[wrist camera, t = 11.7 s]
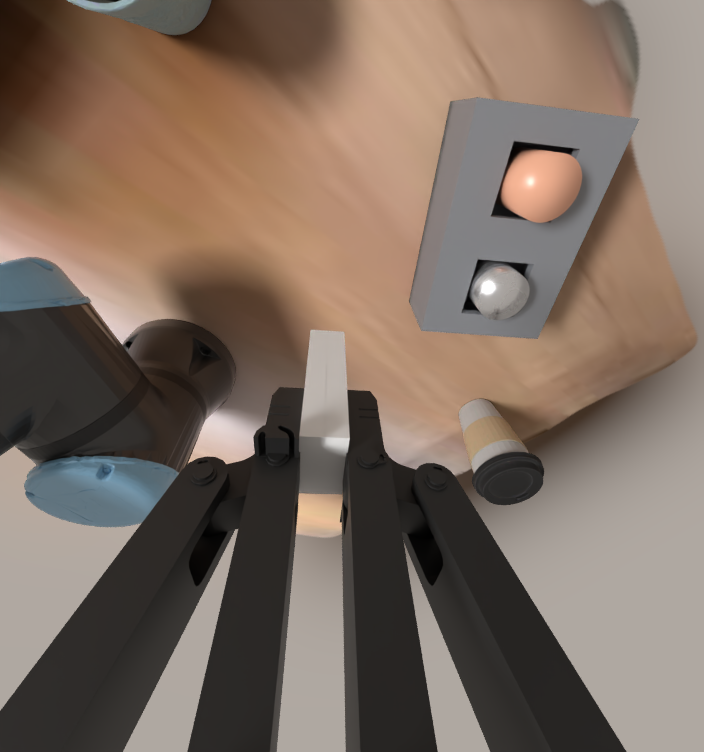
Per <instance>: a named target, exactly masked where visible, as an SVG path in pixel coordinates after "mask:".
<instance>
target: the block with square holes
mask: <svg viewBox="0 0 704 752" xmlns="http://www.w3.org/2000/svg"><path fill="white" fill-rule="evenodd" d="M638 121H639V119H636V118H628V117H621V116H613V115H606V114H598V113H591V112H583V111H576V110H568V109H561V108H553V107H546V106H538V105H531V104H523V103H516V102H508V101H501V100H493V99H486V98H478V97H477V98H470V99H464V100H457V101H451V102H450V106H449V111H448V116H447V121H446V125H445V130H444V135H443V140H442V145H441V150H440V154H439V159H438V164H437V169H436V174H435V179H434V183H433V188H432V193H431V198H430V203H429V208H428V212H427V217H426V222H425V227H424V232H423V237H422V241H421V246H420V251H419V256H418V261H417V266H416V270H415V275H414V280H413V285H412V290H411V295H410V299H409V303H410V305H411V307H412V310H413V312H414V315H415V317H416V319H417V322H418V324H419V327H420V329H421V331H432V332H446V333H461V334H475V335H490V336H504V337H519V338H533V339H538V337H539V335H540V332H541V330H542V328H543V326H544V324H545V322H546V319H547V317H548V315H549V313H550V311H551V309H552V307H553V304H554V302H555V300H556V298H557V296H558V294H559V291H560V289H561V287H562V285H563V283H564V281H565V278H566V276H567V274H568V272H569V270H570V268H571V266H572V263H573V261H574V259H575V257H576V255H577V253H578V250H579V248H580V246H581V244H582V242H583V240H584V238H585V235H586V233H587V231H588V229H589V227H590V225H591V222H592V220H593V218H594V216H595V214H596V212H597V209H598V207H599V205H600V203H601V201H602V199H603V197H604V194H605V192H606V190H607V188H608V186H609V184H610V181H611V179H612V177H613V175H614V173H615V171H616V168H617V166H618V164H619V162H620V160H621V158H622V156H623V153H624V151H625V149H626V147H627V145H628V143H629V140H630V138H631V136H632V134H633V132H634V130H635V127H636V125H637V123H638ZM520 147H525V148H532V149H538V150H545V151H552V152H559V153H565V154H569V155H571V156H572V157H574V158H575V159H576V160H577V161H578V163H579V165H580V167H581V171H582V183H581V187H580V190H579V193H578V195H577V197H576V199H575V200H574V202H573V203H572V205H571V206H570V207H569V208H568V209H567V210H566V211H565V212H564V213H563V214H562V215H560V216H559V217H557V218H555V219H553V220H551V221H548V222H543V223H536V222H532V221H529V220H528V219H526V218H524V217H522V216H520V215H518V214H516V213H514V212H512V211H510V210H508V209H506V208H504V207H502V206H500V205H498V204H497V203H496V202H495V201H496V198H497V194H498V191H499V188H500V185H501V181H502V178H503V175H504V172H505V168H506V165H507V162H508V158H509V155H510V152H511V150H512V149H515V148H520ZM478 259H482V260H493V261H504V262H507V263H508V264H509V265H510V266H511V267H513V268H514V269H515V270H516V271H517V272H519V273H520V274H521V275H522V276H524V277H525V278H526V280H527V281H528V284H529V289H530V291H529V297H528V299H527V302H526V303H525V305H524V306H523V307H522V309H521V310H520V311H519V312H517V313H516V314H515V315H513V316H511V317H509V318H507V319H503V320H491V319H488V318H486V317H485V316H483V315H482V314H481V312H480V311H479V310H478V308H477V307H476V306H475V304H474V303H473V302H472V300H471V299H470V298H469V297H468V295H467V293H468V290H469V286H470V283H471V280H472V276H473V273H474V270H475V267H476V263H477V260H478Z"/></svg>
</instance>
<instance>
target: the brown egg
mask: <svg viewBox="0 0 704 752" xmlns="http://www.w3.org/2000/svg"><path fill="white" fill-rule="evenodd" d="M581 183H582V171H581V167H580V165H579V163H578V161H577V160H576V159H575V158H574V157H572V156H571V155H569V154H565V153H559V152H552V151H545V150H538V149H532V148H525V147H520V148H515V149H512V150H511V152H510V155H509V158H508V162H507V165H506V168H505V172H504V175H503V178H502V181H501V185H500V188H499V191H498V194H497V198H496V201H495V202H496V203H497V204H498V205H500V206H502V207H504V208H506V209H508V210H510V211H512V212H514V213H516V214H518V215H520V216H522V217H524V218H526V219H528V220H529V221H532V222H536V223H543V222H548V221H551V220H553V219H555V218H557V217H559V216H560V215H562V214H563V213H564V212H565V211H566V210H567V209H568V208H569V207H570V206H571V205H572V203H573V202H574V200H575V199H576V197H577V195H578V193H579V190H580V187H581Z"/></svg>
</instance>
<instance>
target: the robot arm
mask: <svg viewBox="0 0 704 752" xmlns="http://www.w3.org/2000/svg"><path fill="white" fill-rule="evenodd" d="M90 302H91V300H90V299H89V298H88V297H85V296H84V295H83V294H82V293H81V292H80V290H79V289H78V288H77V287H76V286H75V285H74V284H73V282H72V281H71V280H70V279H69V278H68V277H67V275H66V274H65V273H64V272H63V271H62V270H61V269H60V268H59V267H58V266H57V265H56V264H54V263H52V262H50V261H48V260H46V259H42V258H38V257H26V258H20V259H16V260H11V261H7V262H3V263H0V456H1V455H2V454H3V453H5V452H6V451H8V450H9V449H11V448H12V447H14V446H15V447H17V448H18V449H19V450H20V451H22V452H23V453H24V454H25V455H26V456H27V457H29V458H30V459H31V460H32V461H33V462H34V463H35V464H36V467H34V468H33V469H32V470H31V471H30V472H29V473H28V475H27V480H26V482H25V484H24V487H25V490H26V492H25V494H26V496H27V498H28V499H29V501H30V502H31V503H32V504H33V505H35V506H36V507H37V508H39V509H40V510H42V511H44V512H46V513H48V514H50V515H52V516H54V517H57V518H60V519H62V520H66V521H69V522H73V523H77V524H82V525H89V526H97V527H124V526H131V525H135V524H140V523H142V524H141V525H140V526H139V528H138V529H137V530H136V532H135V533H134V534H133V536H132V537H131V538H130V540H129V541H128V542H127V543H126V545H125V546H124V547H123V549H122V550H121V551H120V553H119V554H118V555H117V557H116V558H115V559H114V561H113V562H112V563H111V565H110V566H109V567H108V569H107V570H106V572H105V573H104V574H103V575H102V577H101V578H100V579H99V581H98V582H97V583H96V585H95V586H94V587H93V589H92V590H91V591H90V593H89V594H88V595H87V597H86V598H85V599H84V601H83V602H82V603H81V604H80V606H79V607H78V608H77V610H76V611H75V612H74V614H73V615H72V616H71V618H70V619H69V621H68V622H67V623H66V624H65V626H64V627H63V628H62V630H61V631H60V632H59V634H58V635H57V636H56V638H55V639H54V640H53V642H52V643H51V644H50V646H49V647H48V649H47V650H46V651H45V652H44V654H43V655H42V656H41V658H40V659H39V660H38V662H37V663H36V664H35V666H34V667H33V668H32V670H31V671H30V672H29V674H28V675H27V676H26V678H25V679H24V680H23V681H22V683H21V684H20V685H19V687H18V688H17V689H16V691H15V693H14V694H13V695H12V696H11V697H10V699H9V700H8V701H7V703H6V704H5V706H4V707H3V708H2V709H1V711H0V752H123V750H124V748H125V746H126V744H127V742H128V740H129V738H130V736H131V734H132V732H133V730H134V728H135V726H136V725H137V723H138V720H139V718H140V717H141V715H142V713H143V711H144V709H145V707H146V705H147V703H148V701H149V699H150V697H151V695H152V693H153V691H154V689H155V687H156V685H157V683H158V681H159V679H160V677H161V675H162V673H163V671H164V669H165V667H166V665H167V663H168V661H169V659H170V657H171V655H172V653H173V651H174V649H175V647H176V646H177V644H178V642H179V640H180V638H181V635H182V634H183V632H184V630H185V628H186V626H187V624H188V622H189V620H190V618H191V616H192V614H193V612H194V610H195V608H196V606H197V604H198V602H199V600H200V598H201V596H202V594H203V592H204V590H205V588H206V586H207V584H208V582H209V580H210V578H211V576H212V574H213V572H214V570H215V568H216V567H217V565H218V562H219V560H220V559H221V556H222V555H223V553H224V551H225V549H226V547H227V544H228V543H229V541H230V539H231V537H232V535H233V533H234V531H235V529H238V528H239V529H238V533H237V538H236V542H235V546H234V551H233V556H232V560H231V564H230V568H229V573H228V577H227V581H226V586H225V590H224V594H223V599H222V603H221V608H220V612H219V617H218V621H217V625H216V629H215V634H214V639H213V643H212V647H211V651H210V656H209V660H208V665H207V669H206V673H205V678H204V682H203V686H202V691H201V695H200V699H199V704H198V709H197V713H196V717H195V721H194V726H193V730H192V734H191V739H190V743H189V748H188V752H276V751H277V740H278V728H279V717H280V706H281V695H282V684H283V672H284V660H285V650H286V638H287V627H288V616H289V604H290V593H291V582H292V581H291V580H292V570H293V558H294V547H295V536H296V525H297V514H298V495H299V493H312V494H342V491H343V503H342V510H341V517H340V522H342V556H343V558H342V560H343V609H344V610H343V616H344V669H345V670H344V673H345V728H346V752H438V751H437V745H436V739H435V733H434V726H433V720H432V715H431V708H430V702H429V696H428V690H427V683H426V677H425V671H424V665H423V660H422V653H421V647H420V640H419V634H418V628H417V622H416V617H415V610H414V604H413V597H412V592H411V585H410V579H409V573H408V567H407V561H406V554H405V548H404V543H405V545H406V548H407V550H408V553H409V555H410V557H411V560H412V562H413V565H414V567H415V570H416V572H417V574H418V576H419V579H420V582H421V584H422V587H423V589H424V591H425V594H426V596H427V598H428V601H429V604H430V606H431V608H432V611H433V613H434V616H435V618H436V621H437V623H438V625H439V628H440V630H441V633H442V635H443V638H444V640H445V643H446V645H447V647H448V650H449V652H450V654H451V657H452V660H453V662H454V664H455V667H456V669H457V671H458V674H459V677H460V679H461V681H462V684H463V686H464V689H465V691H466V694H467V696H468V698H469V701H470V703H471V705H472V708H473V711H474V713H475V715H476V718H477V720H478V722H479V725H480V728H481V730H482V732H483V735H484V737H485V740H486V742H487V745H488V747H489V749H490V752H626V750H625V749H624V747H623V746H622V744H621V742H620V741H619V739H618V738H617V736H616V734H615V733H614V731H613V730H612V728H611V726H610V725H609V723H608V721H607V720H606V718H605V717H604V715H603V714H602V712H601V710H600V709H599V707H598V705H597V704H596V702H595V701H594V699H593V698H592V696H591V694H590V693H589V691H588V689H587V688H586V686H585V685H584V683H583V682H582V680H581V678H580V676H579V675H578V673H577V672H576V670H575V668H574V667H573V665H572V664H571V662H570V660H569V659H568V657H567V656H566V654H565V652H564V651H563V649H562V647H561V646H560V644H559V643H558V641H557V639H556V638H555V636H554V635H553V633H552V631H551V630H550V628H549V627H548V625H547V623H546V622H545V620H544V619H543V617H542V615H541V614H540V612H539V611H538V609H537V607H536V606H535V604H534V602H533V601H532V599H531V598H530V596H529V595H528V593H527V591H526V590H525V588H524V586H523V585H522V583H521V582H520V580H519V578H518V577H517V575H516V574H515V572H514V570H513V569H512V567H511V566H510V564H509V562H508V561H507V559H506V557H505V556H504V554H503V553H502V551H501V550H500V548H499V546H498V545H497V543H496V541H495V540H494V538H493V537H492V535H491V533H490V532H489V530H488V529H487V527H486V525H485V524H484V522H483V520H482V519H481V517H480V516H479V514H478V512H477V511H476V509H475V508H474V506H473V505H472V503H471V501H470V500H469V498H468V496H467V495H466V493H465V492H464V490H463V488H462V487H461V485H460V484H459V482H458V480H457V479H456V477H455V476H454V475H453V474H452V472H451V471H450V470H448V469H447V468H445V467H444V466H442V465H438V464H435V463H426V464H423V465H421V466H419V467H418V468H417V470H415V469H412V468H409V467H405V466H403V465H400V464H398V463H396V462H395V461H393V460H392V459H391V458H390V457H389V456H388V454H387V453H386V452H385V449H384V445H383V439H382V432H381V426H380V419H379V413H378V406H377V400H376V398H375V397H374V396H373V394H372V393H371V392H370V391H357V390H347V376H346V356H345V336H344V332H338V331H323V330H311V332H310V342H309V351H308V360H307V369H306V379H305V388H304V389H303V388H284V387H280V388H279V389H278V390H277V391H276V392H275V393H274V394H273V395H272V400H271V404H270V409H269V414H268V418H267V422H266V425H264V426H262V427H261V428H260V429H259V430H257V431H256V433H255V435H254V437H253V438H254V449H255V454H254V455H253V456H251V457H249V458H247V459H245V460H242V461H239V462H235V463H231V464H225V462H224V461H223V460H221V459H219V458H216V457H203V458H198V459H196V460H194V461H192V462H190V463H188V461H189V459H190V456H191V454H192V451H193V449H194V446H195V444H196V441H197V439H198V436H199V434H200V431H201V429H202V426H203V424H204V422H205V420H206V419H207V418H208V417H209V416H210V415H211V414H212V413H213V412H214V411H215V410H216V409H217V408H218V407H220V406H221V405H222V404H223V403H224V402H225V401H226V400H227V398H228V397H229V395H230V393H231V390H232V388H233V385H234V382H235V377H236V369H235V364H234V361H233V359H232V356H231V354H230V353H229V351H228V350H227V348H226V347H225V346H224V345H223V343H222V342H221V341H220V340H218V339H217V338H216V337H215V336H214V335H212V334H211V333H210V332H208V331H206V330H205V329H203V328H201V327H199V326H196V325H194V324H191V323H188V322H184V321H179V320H171V319H163V320H155V321H151V322H148V323H145V324H143V325H141V326H140V327H138V328H137V329H136V330H134V331H133V333H132V334H131V335H130V336H129V337H128V338H127V339H126V340H125V341H124V343H123V344H121V343H120V342H119V341H118V339H117V338H116V337H115V335H114V334H113V333H112V331H111V330H110V329H109V327H108V326H107V325H106V323H105V322H104V321H103V319H102V318H101V317H100V315H99V314H98V313H97V311H96V310H95V309H94V307H93V306H92V305H91V303H90ZM403 540H404V542H403Z"/></svg>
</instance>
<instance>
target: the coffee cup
mask: <svg viewBox="0 0 704 752" xmlns="http://www.w3.org/2000/svg"><path fill="white" fill-rule="evenodd" d="M459 419H460V423H461V427H462V431H463V438H464V442H465V446H466V450H467V454H468V457H469V461H470V465H471V468H472V470H473V472H474V475H473V478H472V484H473V486H474V488H475V489H476V491H477V493H478V494H479V495H481V496H482V497H484V498H485V499H486V500H487V501H489V502H491V503H493V504H497V505H511V504H515V503H519V502H522V501H524V500H527V499H529V498H530V497H532V496H533V495H535V494H536V493H537V492H538V491H539V490H540V488H541V487H542V485H543V476H544V468H543V466H542V463H541V461H540V459H539V458H538V457H536V456H535V455H533V454H530V453H529V452H528V450H527V448H526V446H525V445H524V444H523V442H522V441H521V440H520V438H519V437H518V436H517V435H516V433H515V432H514V431H513V429H512V428H511V427H510V425H509V424H508V423H507V421H506V420H504V419H503V418H502V416H501V415H500V414H499V412H498V411H497V410H496V408H495V407H494V406H493V404H492V403H491V402H490V401H488V400H485V399H475V400H472V401H470V402H468V403H466V404H465V405H464V406H463V407H462V408H461V409H460V411H459Z"/></svg>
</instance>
